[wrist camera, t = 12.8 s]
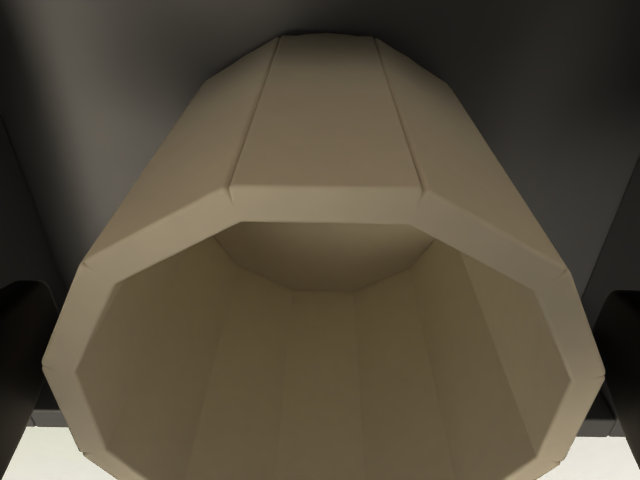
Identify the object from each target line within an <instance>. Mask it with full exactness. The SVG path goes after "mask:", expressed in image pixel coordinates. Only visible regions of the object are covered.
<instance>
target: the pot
mask: <svg viewBox="0 0 640 480" xmlns="http://www.w3.org/2000/svg"><path fill="white" fill-rule="evenodd" d="M42 365H43V366H42V371H43V373H44V375H45V377H46V379H47V382H48V384H49V386H50V388H51V390H52V393H53V395H54V397H55V399H56V401H57V403H58V406H59V408H60V410H61V412H62V414H63V417H64V419H65V421H66V423H67V425H68V427H69V430H70V432H71V434H72V436H73V438H74V441H75V443H76V445H77V447H78V449H79V451H80V452H83V455H84V456H85V457H86V458H87V459H89V460H90V461H92V462H93V463H95V464H96V465H97V466H99V467H100V468H102V469H103V470H105V471H106V472H107V473H109V474H110V475H112V476H113V477H115V478H116V479H117V480H536V479H538V478H539V477H541V476H543V475H544V474H546V473H547V472H549V471H550V470H552V469H553V468H555V467H556V466H558V465H559V464H560V461H563V460H564V459H565V457H566V455H567V453H568V451H569V449H570V447H571V445H572V443H573V441H574V439H575V437H576V435H577V433H578V431H579V429H580V427H581V425H582V423H583V421H584V419H585V417H586V415H587V413H588V411H589V410H590V408H591V406H592V404H593V402H594V400H595V398H596V396H597V394H598V392H599V390H600V388H601V386H602V384H603V382H604V380H605V376H604V374H605V368H604V365H603V362H602V359H601V357H600V354H599V351H598V348H597V345H596V342H595V340H594V337H593V334H592V331H591V328H590V326H589V323H588V320H587V317H586V314H585V311H584V309H583V306H582V303H581V300H580V297H579V295H578V292H577V289H576V286H575V283H574V281H573V278H572V275H571V272H570V271H569V269H568V268H567V266H566V265H565V263H564V261H563V260H562V258H561V257H560V255H559V254H558V252H557V251H556V249H555V248H554V246H553V244H552V243H551V241H550V240H549V238H548V237H547V235H546V234H545V232H544V231H543V229H542V228H541V226H540V224H539V223H538V221H537V220H536V218H535V217H534V215H533V214H532V212H531V211H530V209H529V208H528V206H527V204H526V203H525V201H524V200H523V198H522V197H521V195H520V194H519V192H518V191H517V189H516V187H515V186H514V184H513V183H512V181H511V180H510V178H509V177H508V175H507V174H506V172H505V171H504V169H503V167H502V166H501V164H500V163H499V161H498V160H497V158H496V157H495V155H494V154H493V152H492V151H491V149H490V147H489V146H488V144H487V143H486V141H485V140H484V138H483V137H482V135H481V134H480V132H479V130H478V129H477V127H476V126H475V124H474V123H473V121H472V120H471V118H470V117H469V115H468V114H467V112H466V110H465V109H464V107H463V106H462V104H461V103H460V101H459V100H458V98H457V97H456V95H455V94H454V92H453V90H452V89H451V88H450V87H449V86H448V84H447V83H445V82H444V81H442V80H441V79H439V78H438V77H436V76H435V75H433V74H432V73H430V72H429V71H427V70H425V69H424V68H422V67H421V66H419V65H418V64H417V63H415V62H414V61H413V60H411V59H410V58H409V57H407V56H405V55H403V54H402V53H400V52H398V51H396V50H395V49H393V48H392V47H390V46H388V45H387V44H385V43H384V42H382V41H381V40H379V39H377V38H375V39H373V37H366V36H352V35H346V34H334V33H317V34H304V35H299V36H290V35H283V36H281V38H279V37H276V38H274V39H273V40H271V41H270V42H268V43H266V44H265V45H263V46H261V47H260V48H258V49H256V50H254V51H252V52H250V53H248V54H246V55H245V56H243V57H242V58H241V59H239V60H238V61H236V62H235V63H234V64H232V65H230V66H229V67H227V68H225V69H224V70H222V71H220V72H219V73H217V74H216V75H214V76H212V77H211V78H209V79H207V80H206V81H205V82H204V84H202V86H201V87H200V88H199V90H198V91H197V93H196V94H195V96H194V97H193V99H192V100H191V102H190V103H189V105H188V106H187V108H186V109H185V110H184V112H183V113H182V115H181V116H180V118H179V119H178V121H177V122H176V124H175V125H174V127H173V128H172V130H171V131H170V132H169V134H168V135H167V137H166V138H165V140H164V141H163V143H162V144H161V146H160V147H159V149H158V150H157V152H156V153H155V154H154V156H153V157H152V159H151V160H150V162H149V163H148V165H147V166H146V168H145V169H144V171H143V172H142V174H141V175H140V176H139V178H138V179H137V181H136V182H135V184H134V185H133V187H132V188H131V190H130V191H129V193H128V194H127V196H126V197H125V198H124V200H123V201H122V203H121V204H120V206H119V207H118V209H117V210H116V212H115V213H114V215H113V216H112V218H111V219H110V220H109V222H108V223H107V225H106V226H105V228H104V229H103V231H102V232H101V234H100V235H99V237H98V238H97V240H96V241H95V242H94V244H93V245H92V247H91V248H90V250H89V251H88V253H87V254H86V256H85V257H84V259H83V260H82V262H81V263H80V264H79V267H78V269H77V272H76V275H75V277H74V280H73V282H72V285H71V287H70V290H69V292H68V295H67V297H66V300H65V303H64V305H63V308H62V310H61V313H60V315H59V318H58V320H57V323H56V325H55V328H54V330H53V333H52V336H51V338H50V341H49V343H48V346H47V348H46V351H45V353H44V356H43V358H42Z"/></svg>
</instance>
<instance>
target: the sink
mask: <svg viewBox="0 0 640 480" xmlns="http://www.w3.org/2000/svg"><path fill="white" fill-rule="evenodd" d="M317 33H334V34H346V35H352V36H366V37H373V39H375V38H377V39H379V40H381V41H382V42H384V43H385V44H387V45H388V46H390V47H392V48H393V49H395V50H396V51H398V52H400V53H402V54H403V55H405V56H407V57H409V58H410V59H411V60H413V61H414V62H415V63H417V64H418V65H419V66H421V67H422V68H424V69H425V70H427V71H429V72H430V73H432V74H433V75H435V76H436V77H438V78H439V79H441V80H442V81H444V82H445V83H447V84H448V86H449V87H450V88H451V89H452V90H453V92H454V94H455V95H456V97H457V98H458V100H459V101H460V103H461V104H462V106H463V107H464V109H465V110H466V112H467V114H468V115H469V117H470V118H471V120H472V121H473V123H474V124H475V126H476V127H477V129H478V130H479V132H480V134H481V135H482V137H483V138H484V140H485V141H486V143H487V144H488V146H489V147H490V149H491V151H492V152H493V154H494V155H495V157H496V158H497V160H498V161H499V163H500V164H501V166H502V167H503V169H504V171H505V172H506V174H507V175H508V177H509V178H510V180H511V181H512V183H513V184H514V186H515V187H516V189H517V191H518V192H519V194H520V195H521V197H522V198H523V200H524V201H525V203H526V204H527V206H528V208H529V209H530V211H531V212H532V214H533V215H534V217H535V218H536V220H537V221H538V223H539V224H540V226H541V228H542V229H543V231H544V232H545V234H546V235H547V237H548V238H549V240H550V241H551V243H552V244H553V246H554V248H555V249H556V251H557V252H558V254H559V255H560V257H561V258H562V260H563V261H564V263H565V265H566V266H567V268H568V269H569V271H570V272H571V275H572V278H573V281H574V283H575V286H576V289H577V292H578V295H579V297H580V300H581V303H582V306H583V309H584V311H585V314H586V317H587V320H588V323H589V326H590V328H591V331H592V330H593V326H594V323H595V321H596V319H597V316H598V314H599V312H600V310H601V307H602V305H603V303H604V301H605V298H606V296H607V295H608V294H609V293H610V292H611V291H613V290H639V291H640V0H0V289H1V288H3V287H5V286H7V285H9V284H10V283H12V282H14V281H17V280H41V281H44V282H45V283H46V284H47V285H48V286H49V288H50V291H51V293H52V296H53V298H54V301H55V304H56V306H57V309H58V311H59V314H60V313H61V310H62V308H63V305H64V303H65V300H66V297H67V295H68V292H69V290H70V287H71V285H72V282H73V280H74V277H75V275H76V272H77V269H78V267H79V264H80V263H81V262H82V260H83V259H84V257H85V256H86V254H87V253H88V251H89V250H90V248H91V247H92V245H93V244H94V242H95V241H96V240H97V238H98V237H99V235H100V234H101V232H102V231H103V229H104V228H105V226H106V225H107V223H108V222H109V220H110V219H111V218H112V216H113V215H114V213H115V212H116V210H117V209H118V207H119V206H120V204H121V203H122V201H123V200H124V198H125V197H126V196H127V194H128V193H129V191H130V190H131V188H132V187H133V185H134V184H135V182H136V181H137V179H138V178H139V176H140V175H141V174H142V172H143V171H144V169H145V168H146V166H147V165H148V163H149V162H150V160H151V159H152V157H153V156H154V154H155V153H156V152H157V150H158V149H159V147H160V146H161V144H162V143H163V141H164V140H165V138H166V137H167V135H168V134H169V132H170V131H171V130H172V128H173V127H174V125H175V124H176V122H177V121H178V119H179V118H180V116H181V115H182V113H183V112H184V110H185V109H186V108H187V106H188V105H189V103H190V102H191V100H192V99H193V97H194V96H195V94H196V93H197V91H198V90H199V88H200V87H201V86H202V84H204V82H205V81H206V80H207V79H209V78H211V77H212V76H214V75H216V74H217V73H219V72H220V71H222V70H224V69H225V68H227V67H229V66H230V65H232V64H234V63H235V62H236V61H238V60H239V59H241V58H242V57H243V56H245V55H246V54H248V53H250V52H252V51H254V50H256V49H258V48H260V47H261V46H263V45H265V44H266V43H268V42H270V41H271V40H273V39H274V38H276V37H279V38H281V36H283V35H290V36H299V35H304V34H317ZM27 426H33V427H34V426H38V427H68V425H67V423H66V421H65V419H64V417H63V414H62V412H61V410H60V408H59V406H58V403H57V401H56V399H55V397H54V395H53V393H52V390H51V388H50V386H49V384H48V382H47V379H46V377H45V379H44V382H43V385H42V387H41V390H40V393H39V396H38V399H37V402H36V405H35V407H34V410H33V412H32V415H31V417H30V420H29V422H28V424H27ZM576 436H577V437H607V436H611V437H625V435H624V433H623V430H622V428H621V425H620V422H619V419H618V417H617V414H616V411H615V408H614V405H613V402H612V399H611V396H610V392H609V389H608V386H607V383H606V380H604V382H603V384H602V386H601V388H600V390H599V392H598V394H597V396H596V398H595V400H594V402H593V404H592V406H591V408H590V410H589V411H588V413H587V415H586V417H585V419H584V421H583V423H582V425H581V427H580V429H579V431H578V433H577V435H576Z"/></svg>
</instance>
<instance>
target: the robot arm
mask: <svg viewBox="0 0 640 480" xmlns="http://www.w3.org/2000/svg"><path fill="white" fill-rule="evenodd" d="M59 315H60V314H59V311H58V309H57V306H56V304H55V301H54V298H53V296H52V293H51V291H50V288H49V286H48V285H47V284H46V283H45V282H44V281H41V280H17V281H14V282H12V283H10V284H9V285H7V286H5V287H3V288H1V289H0V480H1V479H2V477H3V475H4V473H5V471H6V469H7V467H8V465H9V463H10V461H11V458H12V456H13V454H14V452H15V450H16V448H17V446H18V444H19V442H20V439H21V437H22V435H23V433H24V431H25V429H26V426H27V424H28V422H29V420H30V417H31V415H32V412H33V410H34V407H35V405H36V402H37V399H38V396H39V393H40V390H41V387H42V385H43V382H44V379H45V375H44V373H43V371H42V366H43V365H42V358H43V356H44V353H45V351H46V348H47V346H48V343H49V341H50V338H51V336H52V333H53V330H54V328H55V325H56V323H57V320H58V318H59ZM592 334H593V337H594V340H595V342H596V345H597V348H598V351H599V354H600V357H601V359H602V362H603V365H604V368H605V374H604V376H605V380H606V383H607V386H608V389H609V392H610V396H611V399H612V402H613V405H614V408H615V411H616V414H617V417H618V419H619V422H620V425H621V428H622V430H623V433H624V435H625V437H626V440H627V442H628V444H629V447H630V449H631V451H632V453H633V456H634V458H635V460H636V462H637V464H638V467H639V469H640V291H639V290H613V291H611V292H610V293H609V294H608V295H607V296H606V298H605V301H604V303H603V305H602V307H601V310H600V312H599V314H598V316H597V319H596V321H595V323H594V326H593V330H592Z"/></svg>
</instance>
